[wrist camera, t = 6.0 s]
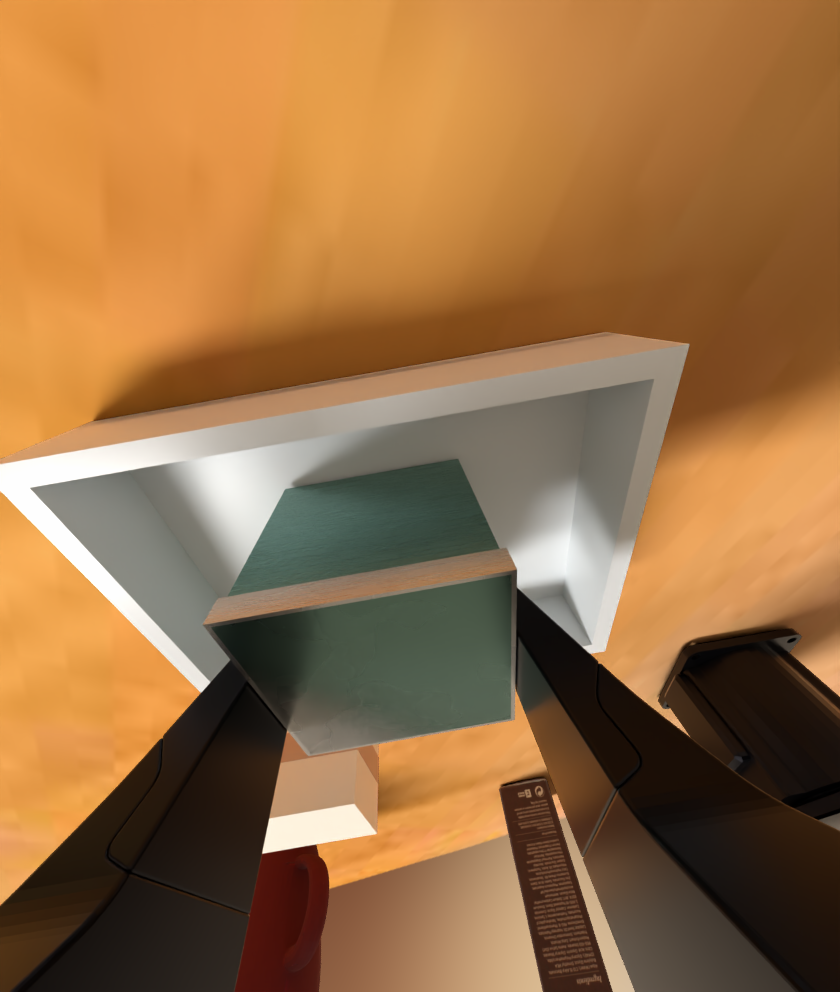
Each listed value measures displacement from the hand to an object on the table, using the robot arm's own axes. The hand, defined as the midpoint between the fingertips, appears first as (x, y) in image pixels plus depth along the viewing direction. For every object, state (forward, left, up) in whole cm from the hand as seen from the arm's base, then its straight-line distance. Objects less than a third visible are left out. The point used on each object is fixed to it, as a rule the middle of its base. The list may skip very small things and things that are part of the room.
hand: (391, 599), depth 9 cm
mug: (+14, +29, -4) cm, 32 cm away
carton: (+7, +12, -4) cm, 15 cm away
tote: (0, 0, -3) cm, 3 cm away
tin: (0, 0, -3) cm, 3 cm away
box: (-6, +32, -4) cm, 33 cm away
